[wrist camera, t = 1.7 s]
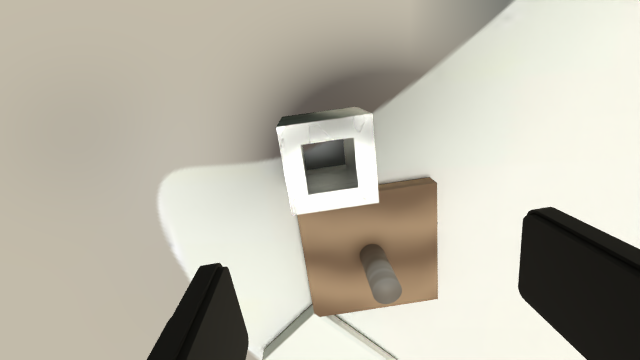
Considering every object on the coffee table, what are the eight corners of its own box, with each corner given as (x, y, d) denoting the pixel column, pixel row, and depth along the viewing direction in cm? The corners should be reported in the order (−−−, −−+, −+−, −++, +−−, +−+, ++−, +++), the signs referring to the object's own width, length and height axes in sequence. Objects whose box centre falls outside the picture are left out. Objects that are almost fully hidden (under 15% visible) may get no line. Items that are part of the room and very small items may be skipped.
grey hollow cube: (282, 116, 24) (276, 127, 18) (355, 106, 24) (372, 113, 18) (293, 186, 26) (291, 215, 20) (361, 176, 26) (379, 202, 20)
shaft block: (295, 197, 26) (294, 232, 20) (429, 177, 26) (469, 206, 20) (314, 306, 30) (317, 364, 24) (431, 288, 30) (464, 341, 24)
